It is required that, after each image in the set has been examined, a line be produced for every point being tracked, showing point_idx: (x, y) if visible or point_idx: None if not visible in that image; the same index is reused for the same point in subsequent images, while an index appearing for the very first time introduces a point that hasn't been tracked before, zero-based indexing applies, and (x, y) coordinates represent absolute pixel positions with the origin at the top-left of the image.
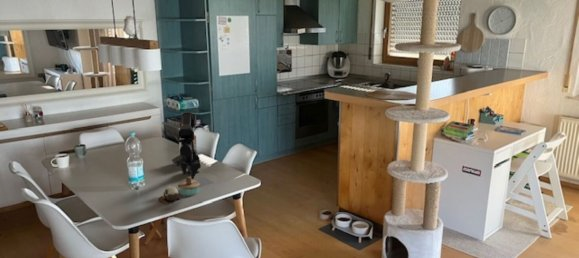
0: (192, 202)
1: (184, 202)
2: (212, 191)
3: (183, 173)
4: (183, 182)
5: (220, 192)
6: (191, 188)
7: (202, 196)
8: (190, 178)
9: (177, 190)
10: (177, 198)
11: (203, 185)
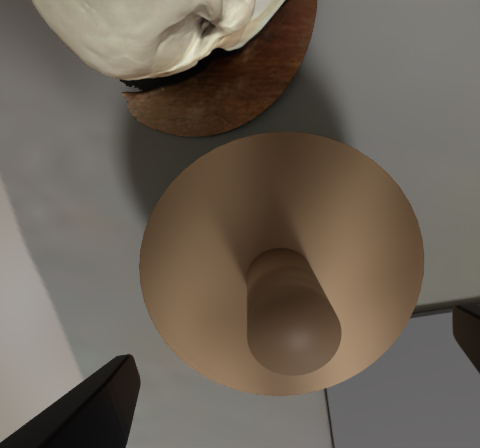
0: (16, 187)
1: (44, 118)
2: (179, 405)
3: (473, 316)
4: (376, 237)
5: (130, 442)
6: (143, 261)
7: (113, 306)
8: (253, 347)
9: (99, 52)
10: (167, 82)
11: (330, 393)
